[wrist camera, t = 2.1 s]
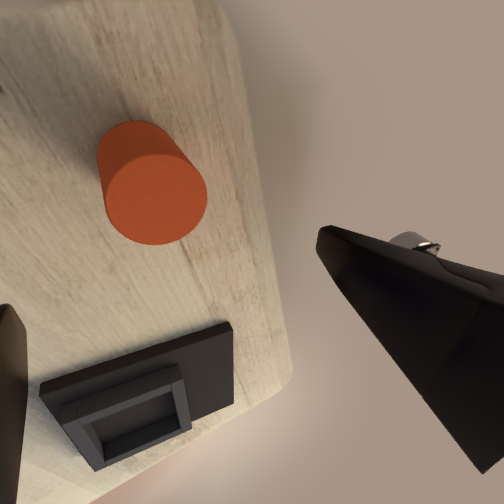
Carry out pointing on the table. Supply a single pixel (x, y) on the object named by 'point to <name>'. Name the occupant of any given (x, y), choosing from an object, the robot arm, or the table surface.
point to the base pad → (143, 395)
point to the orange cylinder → (149, 184)
